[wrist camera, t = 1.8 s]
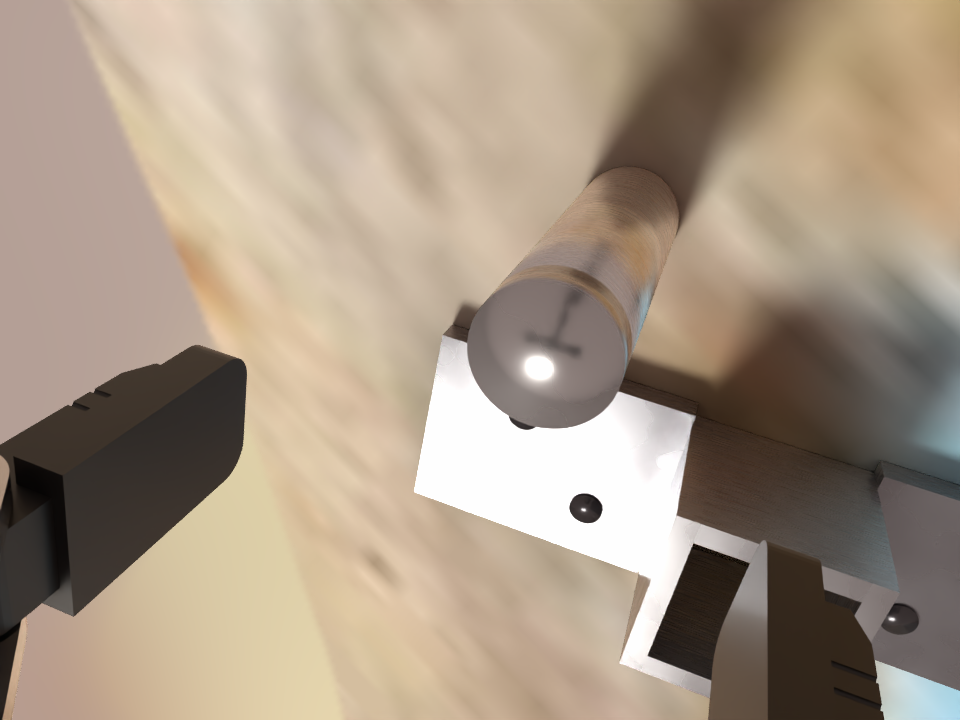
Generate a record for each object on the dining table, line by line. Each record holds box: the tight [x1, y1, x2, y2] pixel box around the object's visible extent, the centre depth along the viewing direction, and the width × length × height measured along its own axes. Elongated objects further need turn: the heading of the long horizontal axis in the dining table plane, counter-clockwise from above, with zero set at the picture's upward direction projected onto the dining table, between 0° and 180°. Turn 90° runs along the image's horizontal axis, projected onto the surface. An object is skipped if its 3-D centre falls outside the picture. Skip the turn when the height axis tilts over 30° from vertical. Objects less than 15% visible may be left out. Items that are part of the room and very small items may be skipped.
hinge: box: [414, 325, 960, 698], centre depth 26 cm, size 7×24×6 cm, turn 79°
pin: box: [467, 166, 679, 429], centre depth 21 cm, size 3×3×11 cm
